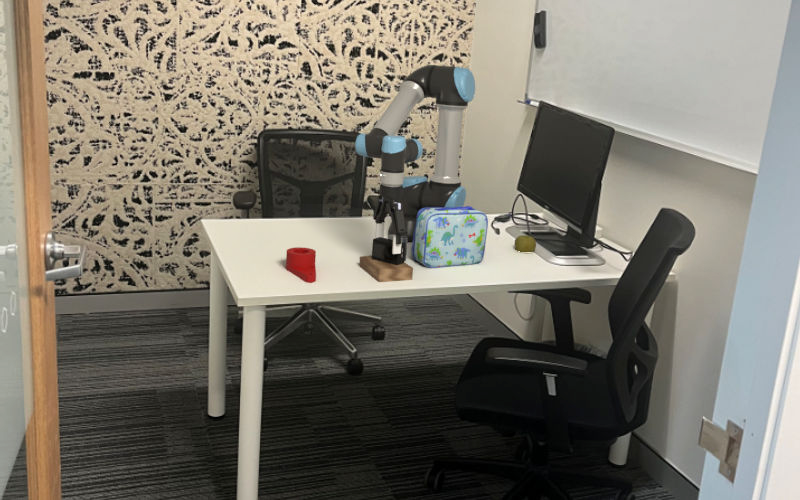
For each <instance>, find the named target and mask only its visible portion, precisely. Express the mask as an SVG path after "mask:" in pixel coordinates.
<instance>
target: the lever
mask: <svg viewBox="0 0 800 500" xmlns="http://www.w3.org/2000/svg"><path fill="white" fill-rule="evenodd" d="M285 258H286V259H285V261H286V263H285V269H286V271H287V272H289V273H291V274H292V275H294V276H296V277H297V278H299V279H300V280H302V281H304V283H309V284H312V283H315V282H316V281H317V272H316V270H317V269H316V268H317V267H316V249H313V248H309V247H299V246H298V247H291V248H288V249H286V257H285Z"/></svg>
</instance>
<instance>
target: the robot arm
mask: <svg viewBox="0 0 800 500" xmlns="http://www.w3.org/2000/svg"><path fill="white" fill-rule="evenodd" d="M398 90H399V91H398V93H397V94H396V95H395V97H394V98H393V99H392V101H391V102H390V104H389V105H388V107H387V108H386V110H384V112H383V114H381V116H380V118H379V119H378V120H377V122H376V123H375V124H374V126H373V128H371V130H370V131H369V132H368V133H366V132H365V133H360V134H358V135H357V136H356V139H355V141H354V143H355V144H354V148H355V152H356V153H357V155H359V156H361V157H366V158H371V159H372V158H373V159H380V174H379V177H380V178H379V180H380V181H379V183H380V184H379V193H378V197H377V199H378V200H377V204H376V207H375V210H374V213H373V217H372V219H373V220H374V221H375V222H374V223H375V234H374V235H375V236H374V237H375V238H378V237H382V238H385V223H386V220H385V219H386V217H387V216H389V217H390V220H391V222H390V224H389V226H388V229H387V236H388V235H391V234H393V247H392V254H401V241H402V235H405V236H407V237H408V241H407V242H413V237H414V230H415V225H416V218H417V214H418V212H419V210H420V209H422V208H427V207H464V205H465V202H466V197H467V192H466V191H467V189H466V188H465V187H464V186H462V180H461V178H460V177H459V176H458V174H459V161H460V153H461V151H460V150H461V139H462V129H463V116H464V114H463V113H464V110H465V109H467V108H468V104H469V103H470V102H472V101H473V100H474V97H475V94H476V80H475V76H474V74H473V72H472V71H471V70H470V69H469V68H466V67H461V66H447V65H437V64H427V65H423V66H421V67H419V68H418V69H416V70H414V71H412V72H411V73H409V75H407V76H406V77H405V78H404V79H403V80H402V82H401V83H400V85H399V89H398ZM427 98H431V99H435V105H436V106H437V108H438V119H437V120H438V123H437V135H436V149H435V159H434V160H435V161H434V162H435V163H434V174H433V175H432V176H431V177H430V178H429V179H428V177H427V176H423V175H414V176H413V175H412V176H405V164H407V163H413V162H415V161H417V160H420V158H421V157H422V155H423V153H424V152H423V149H424V148H423V145H422V143H421V142H420V141H419V140H418V139H416V138H406V137H405V136H402V135H396V134H397V132H398V131H399V129H400V128H401V127H402V126H403V125H404V122H405V121H406V120H407V118H408V116H409V115H410V113H412V111H413V110H414V108H415V107H416V105H417V104H419V103H422V102H423V101H424V99H427ZM428 180H429V181H428ZM375 238H374V239H375Z"/></svg>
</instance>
